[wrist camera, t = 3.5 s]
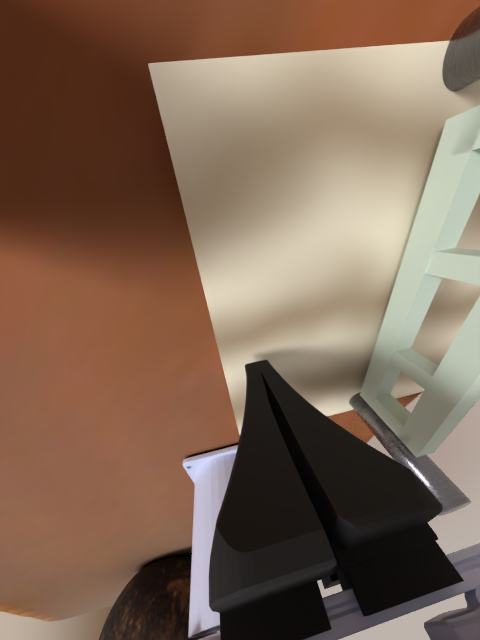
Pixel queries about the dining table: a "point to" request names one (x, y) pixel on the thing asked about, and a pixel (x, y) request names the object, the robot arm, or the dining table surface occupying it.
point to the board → (311, 205)
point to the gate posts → (458, 72)
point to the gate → (417, 294)
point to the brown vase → (154, 604)
